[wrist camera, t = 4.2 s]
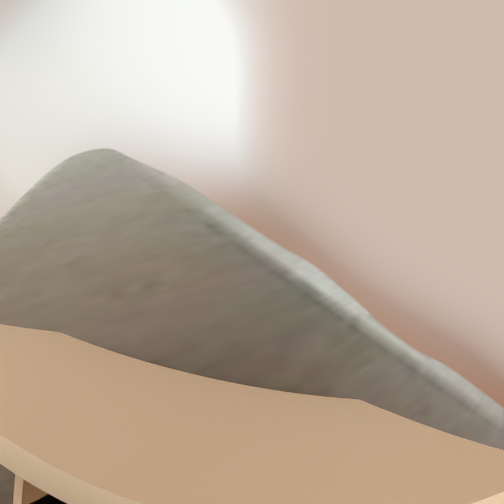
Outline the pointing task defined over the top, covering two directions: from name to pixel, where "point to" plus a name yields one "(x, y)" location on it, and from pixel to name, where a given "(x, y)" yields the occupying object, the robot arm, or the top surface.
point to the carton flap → (213, 437)
